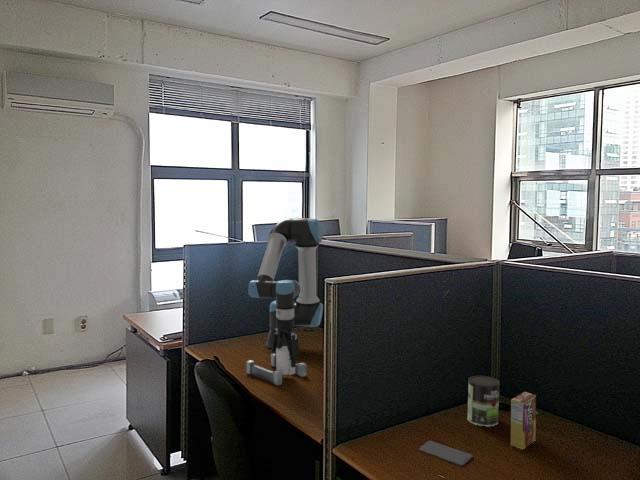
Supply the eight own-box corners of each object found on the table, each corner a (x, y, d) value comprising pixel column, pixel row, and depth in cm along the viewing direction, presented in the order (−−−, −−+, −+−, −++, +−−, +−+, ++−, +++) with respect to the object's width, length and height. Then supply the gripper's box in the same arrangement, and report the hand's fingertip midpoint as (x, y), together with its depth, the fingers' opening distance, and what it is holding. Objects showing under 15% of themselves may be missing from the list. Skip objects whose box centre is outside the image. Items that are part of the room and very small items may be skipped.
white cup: (296, 369, 222) (296, 346, 221) (293, 375, 214) (293, 352, 213) (278, 368, 223) (277, 345, 222) (274, 375, 215) (274, 351, 214)
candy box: (522, 437, 167) (524, 391, 165) (535, 442, 163) (537, 394, 162) (509, 446, 160) (510, 398, 159) (522, 451, 157) (524, 402, 156)
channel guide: (275, 364, 236) (274, 353, 235) (306, 375, 221) (306, 363, 221) (246, 373, 224) (246, 361, 224) (277, 385, 210) (277, 373, 210)
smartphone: (428, 439, 164) (474, 455, 154) (428, 442, 164) (474, 458, 154) (416, 448, 158) (462, 465, 148) (416, 451, 158) (462, 468, 149)
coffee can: (505, 423, 176) (506, 383, 175) (481, 429, 172) (483, 388, 171) (483, 411, 186) (484, 373, 184) (460, 417, 181) (461, 377, 180)
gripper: (262, 315, 221) (263, 367, 223) (294, 324, 206) (295, 380, 208) (276, 312, 226) (276, 363, 228) (308, 320, 211) (308, 375, 214)
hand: (285, 371), depth 218 cm, fingers closed on white cup, 7 cm apart
